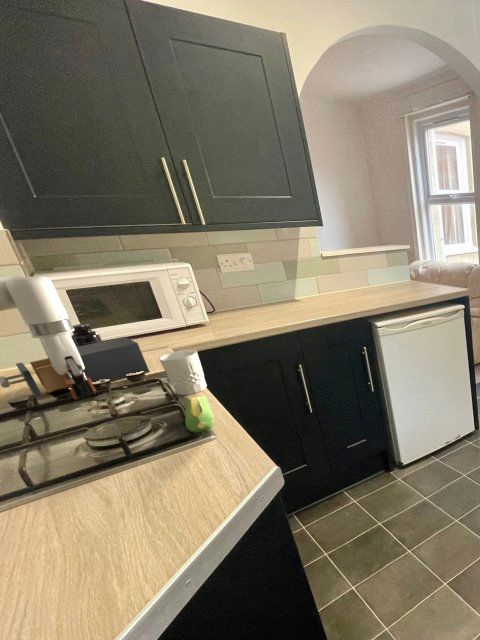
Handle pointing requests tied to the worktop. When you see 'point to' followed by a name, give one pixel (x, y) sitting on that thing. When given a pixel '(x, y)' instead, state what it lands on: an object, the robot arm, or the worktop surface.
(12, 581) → the worktop surface
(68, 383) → the block
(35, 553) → the worktop surface
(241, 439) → the worktop surface
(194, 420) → the edible corn
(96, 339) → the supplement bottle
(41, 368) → the drawer
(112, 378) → the cabinet
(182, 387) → the white cup
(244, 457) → the worktop surface
